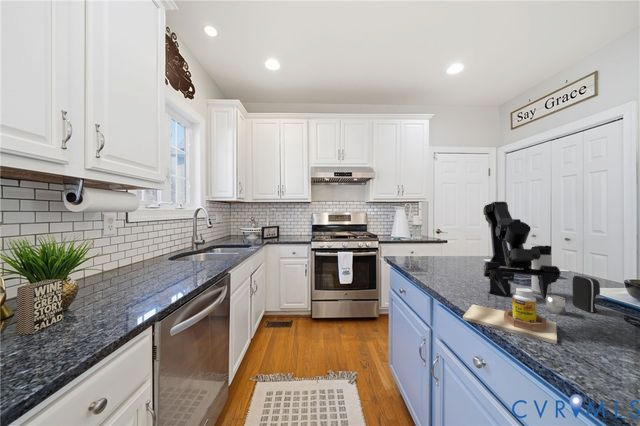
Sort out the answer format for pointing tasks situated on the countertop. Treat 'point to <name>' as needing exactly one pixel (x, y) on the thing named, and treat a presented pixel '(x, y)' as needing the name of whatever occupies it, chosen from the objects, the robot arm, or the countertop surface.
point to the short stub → (555, 304)
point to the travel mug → (536, 264)
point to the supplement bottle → (524, 305)
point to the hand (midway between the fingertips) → (525, 296)
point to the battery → (585, 292)
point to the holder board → (500, 324)
